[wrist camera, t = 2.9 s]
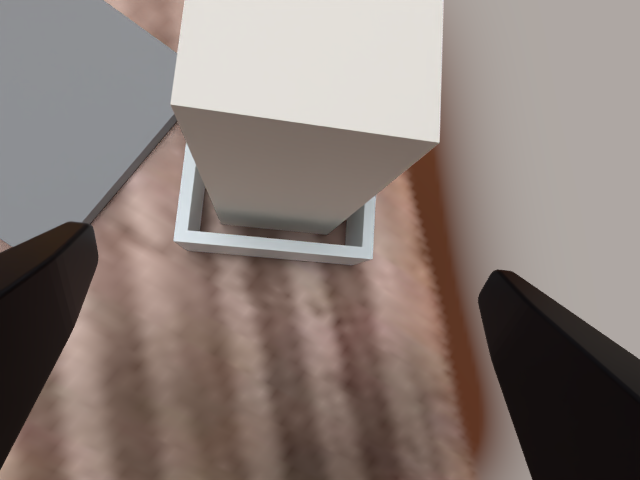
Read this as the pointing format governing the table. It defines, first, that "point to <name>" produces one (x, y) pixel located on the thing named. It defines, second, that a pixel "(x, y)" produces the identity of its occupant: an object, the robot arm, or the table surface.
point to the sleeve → (193, 240)
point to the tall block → (306, 103)
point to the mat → (74, 110)
